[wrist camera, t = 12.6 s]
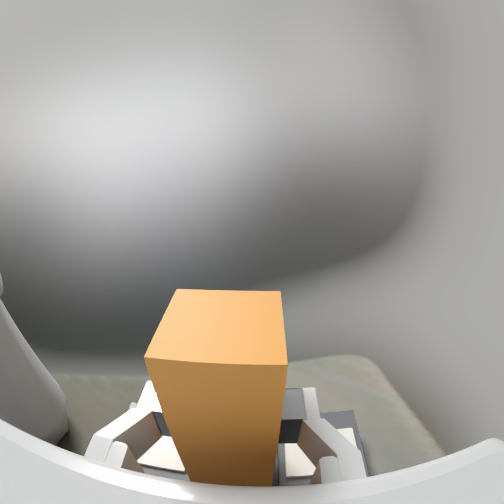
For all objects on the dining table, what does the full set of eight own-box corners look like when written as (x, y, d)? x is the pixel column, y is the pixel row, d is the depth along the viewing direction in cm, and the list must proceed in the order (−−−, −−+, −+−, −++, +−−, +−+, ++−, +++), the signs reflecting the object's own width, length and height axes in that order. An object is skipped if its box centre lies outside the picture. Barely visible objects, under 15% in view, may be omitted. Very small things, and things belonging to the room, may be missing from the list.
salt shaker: (80, 456, 13) (-19, 279, 8) (14, 458, 11) (-92, 294, 6) (77, 395, 18) (17, 235, 13) (20, 401, 16) (-49, 252, 11)
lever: (200, 500, 11) (144, 357, 7) (207, 450, 14) (176, 288, 10) (268, 504, 11) (287, 364, 7) (268, 453, 14) (280, 291, 10)
